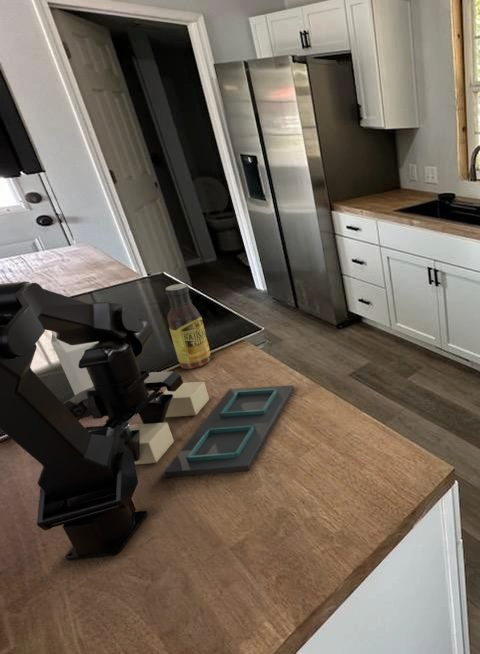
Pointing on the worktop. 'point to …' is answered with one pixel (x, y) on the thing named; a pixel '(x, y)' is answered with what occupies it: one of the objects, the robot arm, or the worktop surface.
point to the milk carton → (73, 363)
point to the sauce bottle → (187, 329)
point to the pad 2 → (187, 399)
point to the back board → (232, 432)
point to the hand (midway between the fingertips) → (145, 448)
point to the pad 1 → (153, 441)
